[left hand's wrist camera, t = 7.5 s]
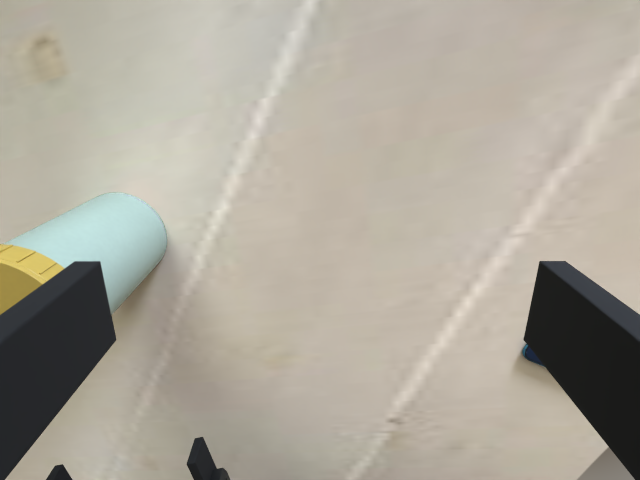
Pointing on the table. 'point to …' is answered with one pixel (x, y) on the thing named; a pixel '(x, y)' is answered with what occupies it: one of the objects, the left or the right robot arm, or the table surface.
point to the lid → (22, 273)
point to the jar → (104, 241)
